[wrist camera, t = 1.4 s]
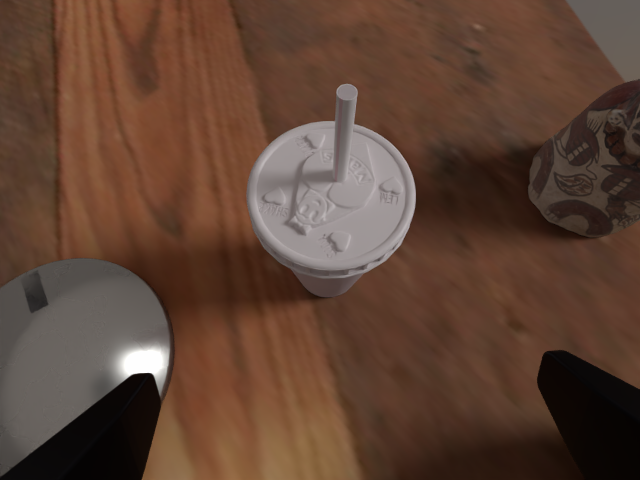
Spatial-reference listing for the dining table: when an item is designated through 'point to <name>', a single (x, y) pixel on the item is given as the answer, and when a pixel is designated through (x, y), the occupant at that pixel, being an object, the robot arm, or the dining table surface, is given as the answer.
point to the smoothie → (331, 199)
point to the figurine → (593, 167)
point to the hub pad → (73, 346)
